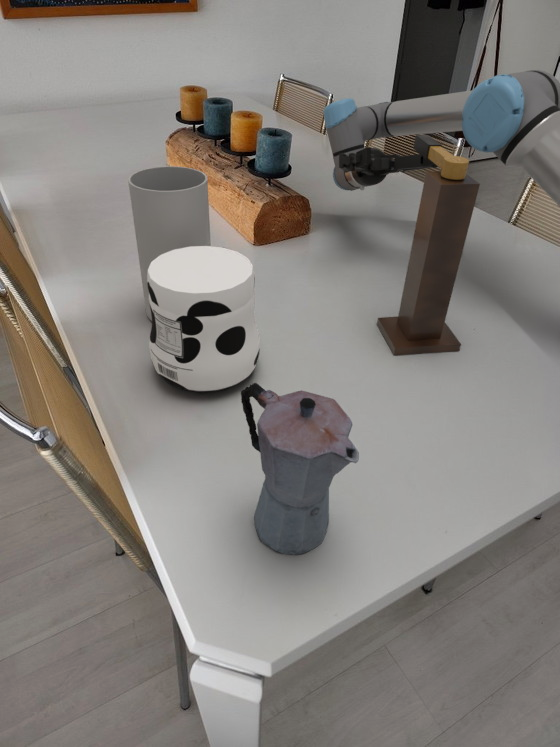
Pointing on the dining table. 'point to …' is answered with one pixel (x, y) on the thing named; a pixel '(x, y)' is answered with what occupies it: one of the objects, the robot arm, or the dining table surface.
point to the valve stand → (432, 268)
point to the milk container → (203, 318)
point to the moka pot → (297, 464)
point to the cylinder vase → (168, 213)
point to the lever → (441, 157)
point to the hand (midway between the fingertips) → (405, 155)
